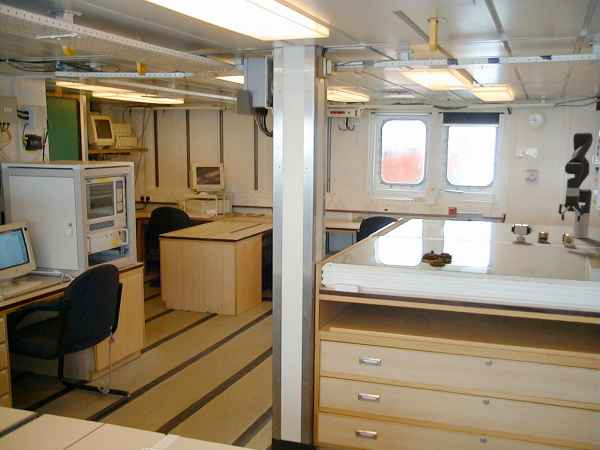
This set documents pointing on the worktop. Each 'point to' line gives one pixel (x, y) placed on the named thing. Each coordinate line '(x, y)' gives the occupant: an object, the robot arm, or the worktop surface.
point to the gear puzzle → (437, 258)
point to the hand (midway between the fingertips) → (570, 221)
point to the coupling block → (569, 241)
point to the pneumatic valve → (521, 231)
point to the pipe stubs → (544, 236)
